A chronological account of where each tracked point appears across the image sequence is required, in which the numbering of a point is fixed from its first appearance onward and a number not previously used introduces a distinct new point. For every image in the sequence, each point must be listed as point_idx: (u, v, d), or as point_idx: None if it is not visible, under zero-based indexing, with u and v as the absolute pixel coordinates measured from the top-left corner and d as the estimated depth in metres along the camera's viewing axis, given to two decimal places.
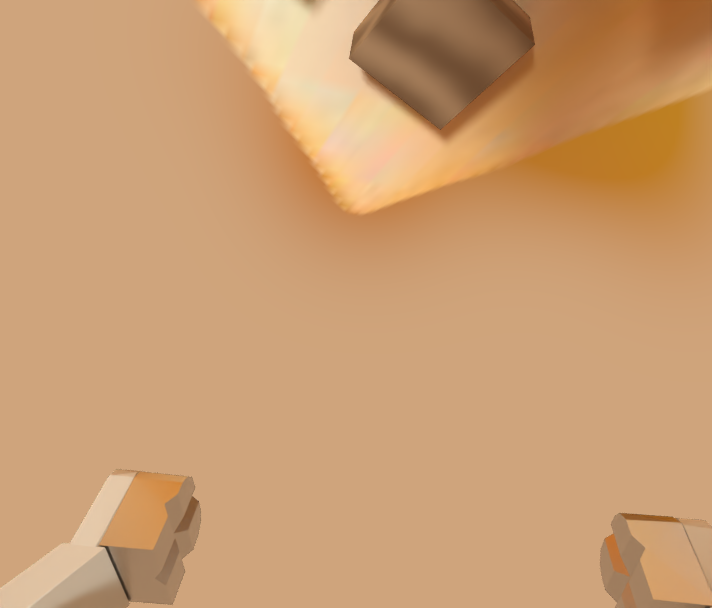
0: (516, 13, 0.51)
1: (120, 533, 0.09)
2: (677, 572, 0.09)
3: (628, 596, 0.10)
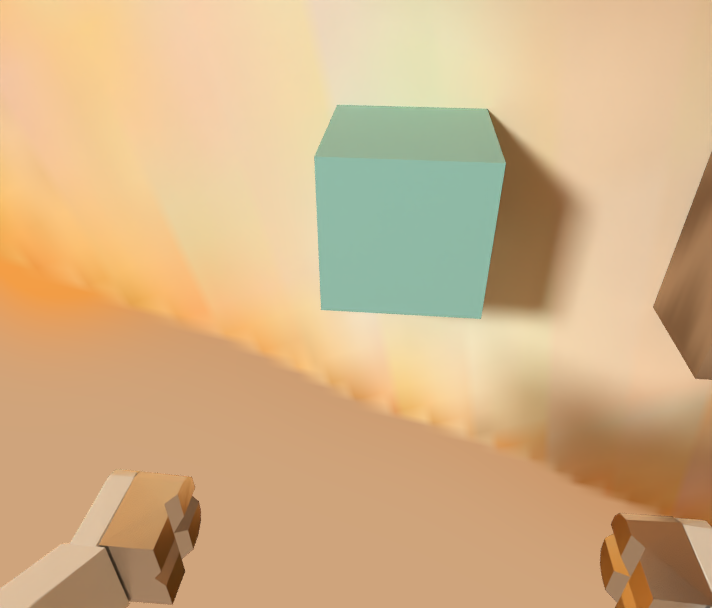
0: None
1: (120, 533, 0.09)
2: (677, 572, 0.09)
3: (628, 596, 0.10)
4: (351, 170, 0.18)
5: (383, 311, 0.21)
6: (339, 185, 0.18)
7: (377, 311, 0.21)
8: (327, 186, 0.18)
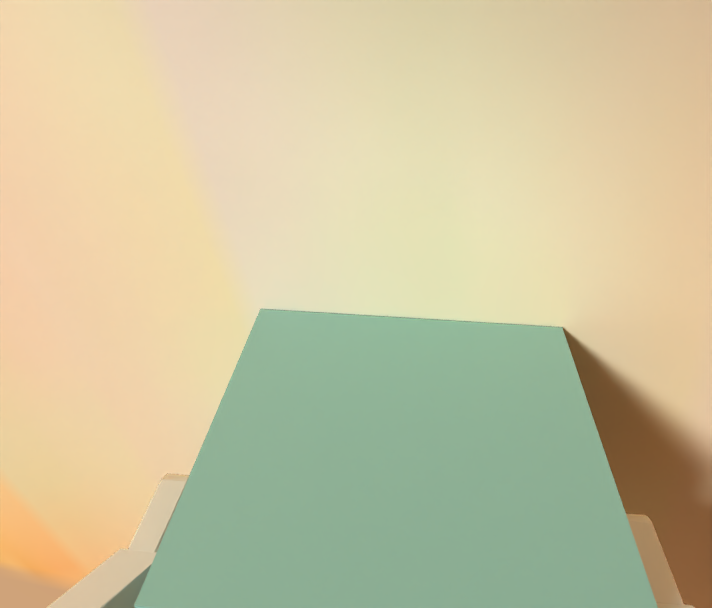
0: None
1: None
2: None
3: None
4: None
5: None
6: None
7: None
8: None
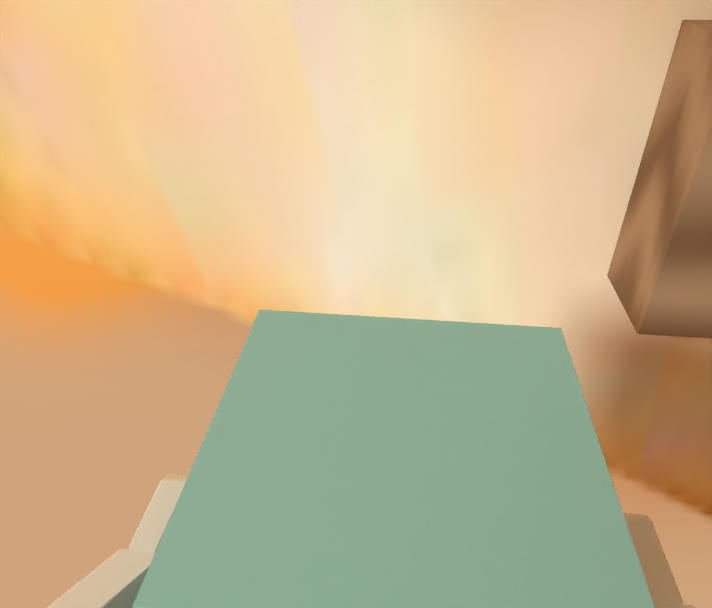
0: None
1: None
2: None
3: None
4: None
5: None
6: None
7: None
8: None
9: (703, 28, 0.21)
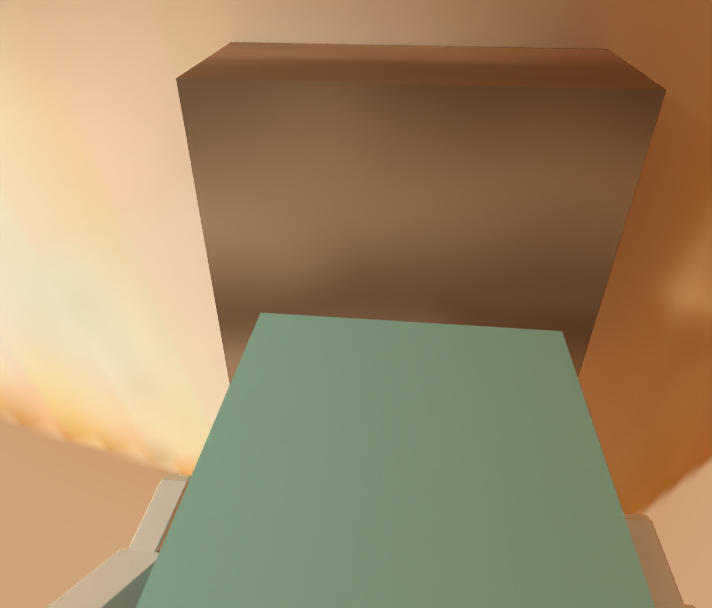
0: (550, 62, 0.16)
1: None
2: None
3: None
4: None
5: None
6: None
7: None
8: None
9: (213, 55, 0.17)
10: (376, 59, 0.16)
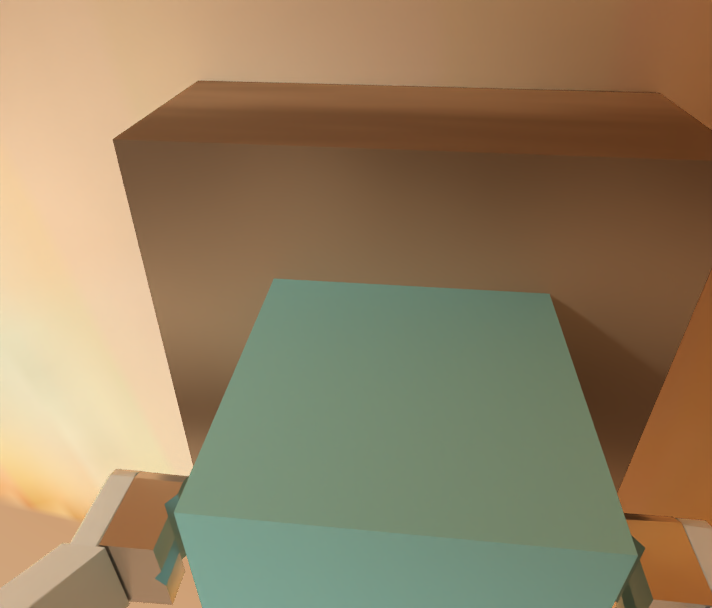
0: (592, 114, 0.12)
1: (120, 533, 0.09)
2: (677, 572, 0.09)
3: (628, 596, 0.10)
4: (264, 539, 0.08)
5: None
6: (237, 557, 0.08)
7: None
8: (214, 557, 0.08)
9: (171, 100, 0.13)
10: (373, 108, 0.13)
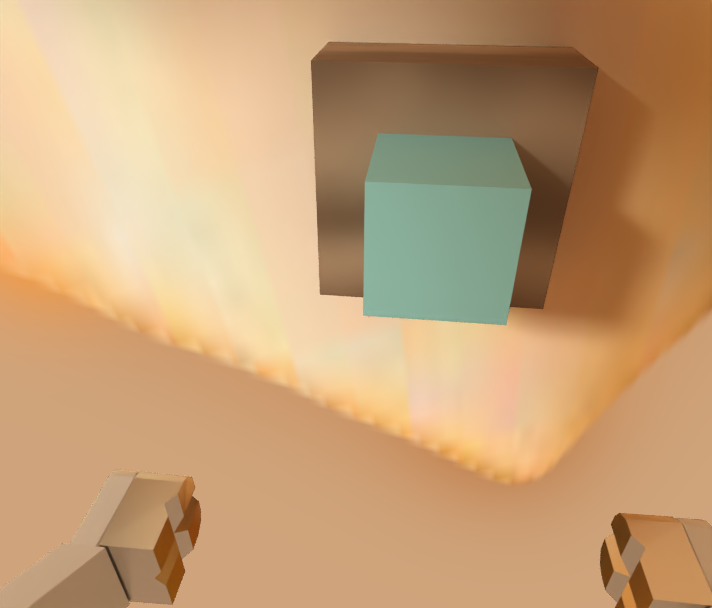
0: (534, 54, 0.25)
1: (120, 533, 0.09)
2: (677, 572, 0.09)
3: (628, 596, 0.10)
4: (396, 194, 0.21)
5: (418, 317, 0.23)
6: (385, 206, 0.21)
7: (413, 317, 0.23)
8: (375, 207, 0.21)
9: (323, 49, 0.27)
10: (426, 51, 0.26)
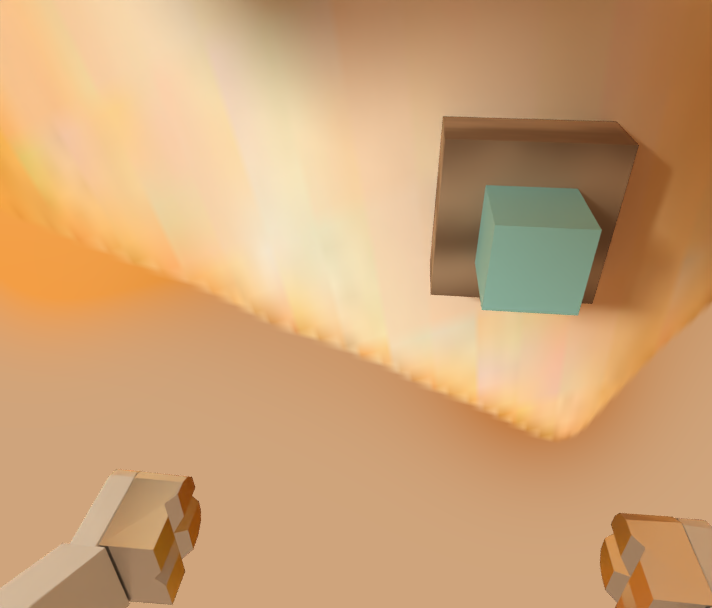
0: (591, 130, 0.37)
1: (120, 533, 0.09)
2: (677, 572, 0.09)
3: (628, 596, 0.10)
4: (514, 232, 0.32)
5: (519, 310, 0.35)
6: (506, 240, 0.33)
7: (516, 310, 0.35)
8: (499, 240, 0.33)
9: (444, 125, 0.38)
10: (517, 128, 0.38)
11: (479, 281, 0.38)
